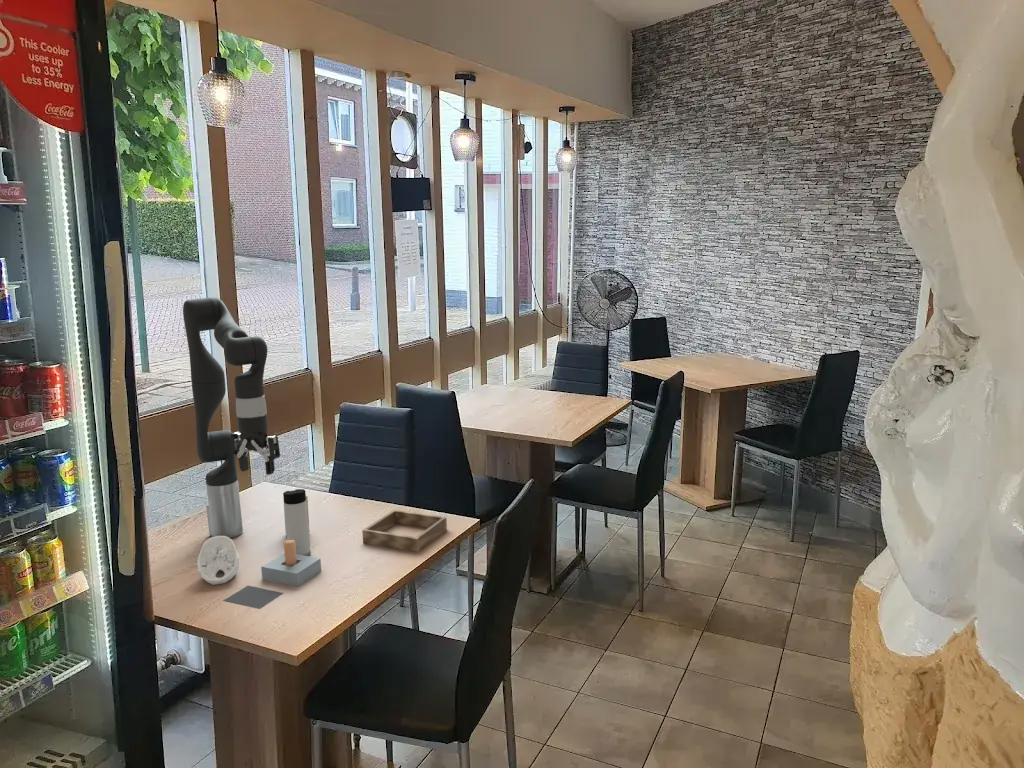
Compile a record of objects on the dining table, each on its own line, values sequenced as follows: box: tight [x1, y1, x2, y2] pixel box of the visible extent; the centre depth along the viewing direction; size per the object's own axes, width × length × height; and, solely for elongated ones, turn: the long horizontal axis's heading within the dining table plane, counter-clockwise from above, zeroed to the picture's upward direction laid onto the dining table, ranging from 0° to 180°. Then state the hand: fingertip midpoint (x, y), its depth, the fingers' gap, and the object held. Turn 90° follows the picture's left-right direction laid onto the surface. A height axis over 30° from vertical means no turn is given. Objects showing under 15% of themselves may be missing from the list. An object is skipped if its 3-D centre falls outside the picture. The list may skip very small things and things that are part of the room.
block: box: [260, 552, 322, 587], centre depth 210 cm, size 12×10×4 cm
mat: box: [222, 585, 284, 610], centre depth 198 cm, size 12×9×1 cm
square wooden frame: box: [361, 509, 448, 553], centre depth 235 cm, size 19×18×4 cm
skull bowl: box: [196, 536, 240, 586], centre depth 211 cm, size 10×14×12 cm
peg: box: [283, 539, 297, 566], centre depth 209 cm, size 3×3×10 cm
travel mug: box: [282, 488, 312, 556], centre depth 222 cm, size 6×7×20 cm
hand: (257, 472), depth 204 cm, fingers open, 8 cm apart
